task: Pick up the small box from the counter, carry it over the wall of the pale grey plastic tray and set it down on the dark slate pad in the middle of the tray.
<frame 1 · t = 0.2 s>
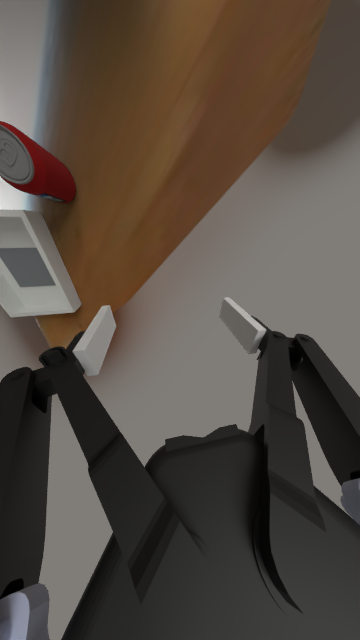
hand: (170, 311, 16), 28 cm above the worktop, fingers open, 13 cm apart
tray: (32, 267, 34), on the worktop
beverage can: (58, 182, 27), on the worktop
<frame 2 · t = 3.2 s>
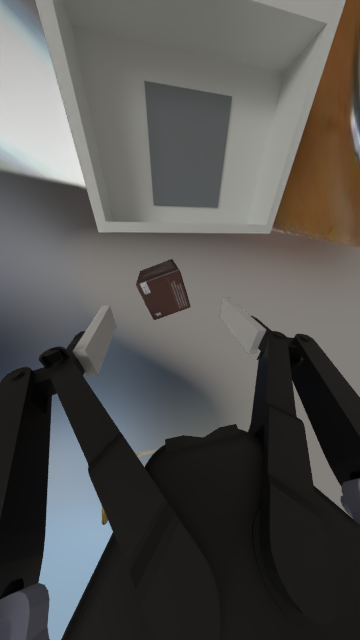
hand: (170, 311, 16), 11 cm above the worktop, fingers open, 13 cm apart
tray: (186, 160, 17), on the worktop
box: (161, 280, 25), on the worktop
vegetable: (115, 459, 75), on the worktop
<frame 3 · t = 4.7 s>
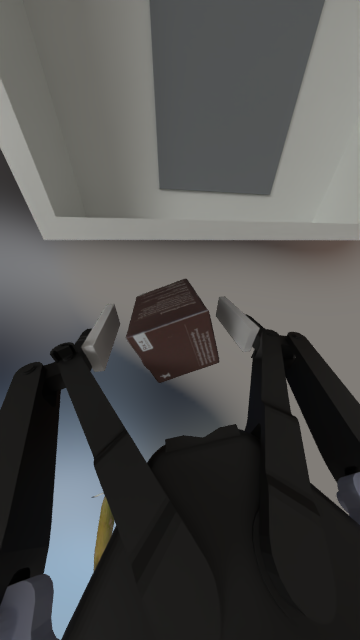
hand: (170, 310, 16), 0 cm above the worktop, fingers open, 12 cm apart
tray: (223, 100, 9), on the worktop
box: (169, 307, 17), on the worktop
vegetable: (111, 489, 67), on the worktop
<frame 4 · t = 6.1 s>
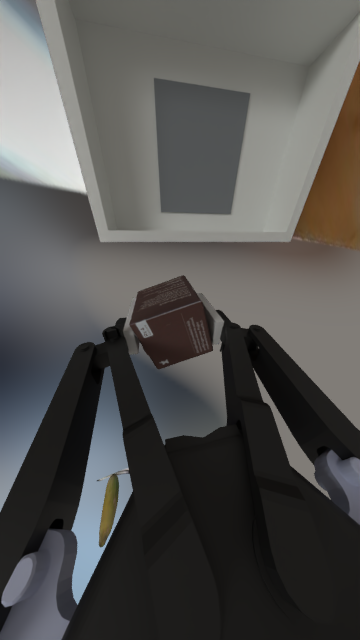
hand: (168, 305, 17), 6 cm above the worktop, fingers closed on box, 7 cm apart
tray: (197, 163, 15), on the worktop
box: (168, 302, 18), point 6 cm above the worktop, touching gripper
vegetable: (115, 473, 72), on the worktop
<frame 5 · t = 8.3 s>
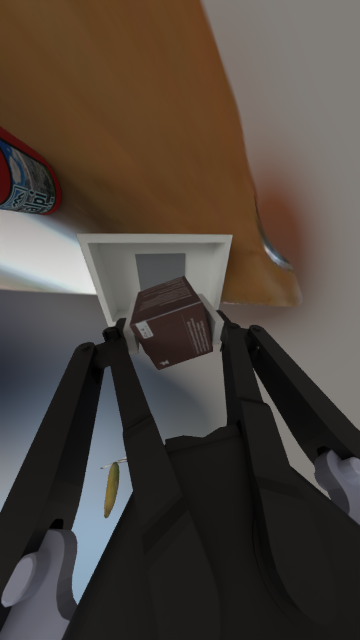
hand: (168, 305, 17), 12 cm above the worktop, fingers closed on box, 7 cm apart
tray: (162, 277, 27), on the worktop
beverage can: (35, 183, 18), on the worktop
box: (168, 303, 18), point 12 cm above the worktop, touching gripper
vegetable: (116, 461, 85), on the worktop
when the fingers open (2 cm above the worktop, at t = 10.8 s): box stays where it is, resting on tray.
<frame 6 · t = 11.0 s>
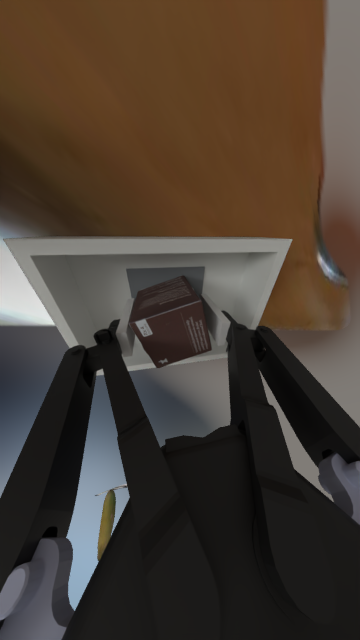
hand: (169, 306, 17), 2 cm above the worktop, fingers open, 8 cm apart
tray: (167, 300, 19), on the worktop
box: (167, 302, 18), point 1 cm above the worktop, touching tray
vegetable: (112, 488, 76), on the worktop
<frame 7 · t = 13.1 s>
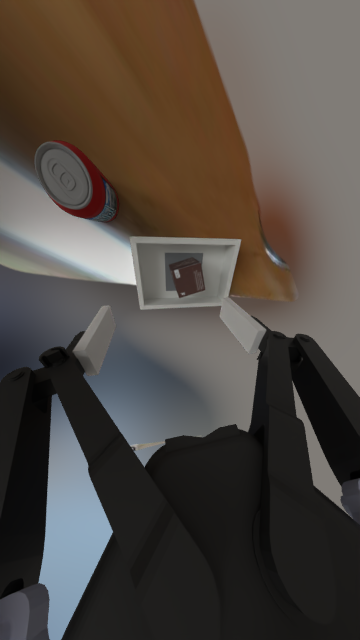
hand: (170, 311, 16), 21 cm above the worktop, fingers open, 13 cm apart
tray: (182, 272, 34), on the worktop
beverage can: (101, 200, 25), on the worktop
box: (183, 272, 34), point 1 cm above the worktop, touching tray
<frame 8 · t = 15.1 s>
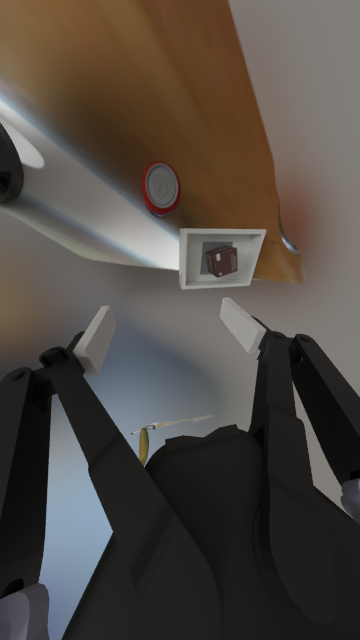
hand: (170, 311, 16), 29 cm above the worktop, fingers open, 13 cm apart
tray: (214, 258, 42), on the worktop
beverage can: (158, 200, 32), on the worktop
box: (215, 258, 41), point 1 cm above the worktop, touching tray
vegetable: (144, 427, 99), on the worktop
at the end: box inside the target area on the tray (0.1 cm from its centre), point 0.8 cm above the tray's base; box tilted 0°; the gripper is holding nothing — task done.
